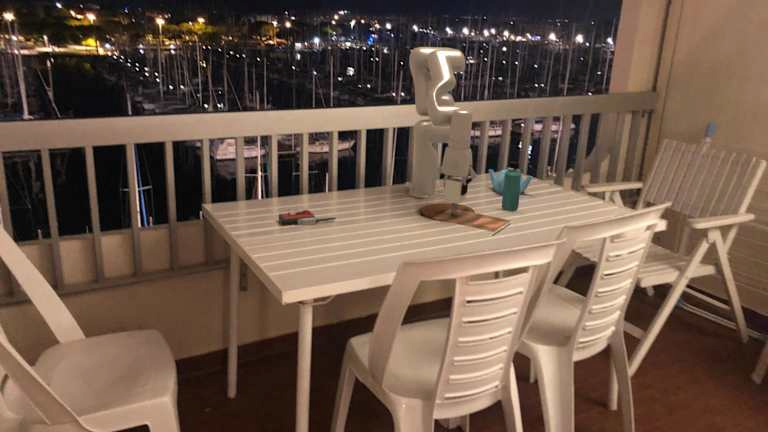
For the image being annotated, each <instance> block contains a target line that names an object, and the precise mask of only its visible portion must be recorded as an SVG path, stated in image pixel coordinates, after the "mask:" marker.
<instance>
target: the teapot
mask: <svg viewBox="0 0 768 432" xmlns="http://www.w3.org/2000/svg"><path fill="white" fill-rule="evenodd" d="M508 170H515V169H513V168H509V167H508V166H507V169H502V170H501V171H499V173H497V175H496V174H495V171H494V169H488V173H489V177H490V181H491V184H492V188H493V190H494V191H495V193H497V194H500V195H503V187H504V178H505V172H506V171H508ZM516 170H517V171H519V172H520V173H521V169H519V168H518V169H516ZM532 179H533V176H532V175H528V176H527V178H526V179H524V177H523V175H522V174H521V181H520V193H519V195H521V194H523V193H524V192H525V190H527V189H528V187H529V184H530V182H531V181H532Z"/></svg>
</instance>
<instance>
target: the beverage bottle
mask: <svg viewBox="0 0 768 432" xmlns="http://www.w3.org/2000/svg"><path fill="white" fill-rule="evenodd" d="M508 167H509V168H513V169H514V170H508V169H507V170H508V171H506V172H505V178H504V187H503V194H502V197H501V198H502V200H501V209H502V210H503V211H508V212H515V211H518V209H519V207H520V206H519V205H520V204H519V203H520V194H519V193H520V181H521V175H522V172H521V171H520V172H519V171H517V169H518V170H519V169H520V162H519V161H509V162H508V164H507V168H508Z"/></svg>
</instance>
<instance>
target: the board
mask: <svg viewBox="0 0 768 432" xmlns="http://www.w3.org/2000/svg"><path fill="white" fill-rule="evenodd" d="M432 219H435V220H437V221H443V222H447V223H452V224H455V225H460V226H466V227H471V228H474V229H475V228H476V229H479V230H484V231H487V232H495V231H496V232H495V233H493V234H492V235H491V236H492V237H493V236H495V235H497V234H498V233H500V232H501V231H503V230H505V228H507V227H509V226H510V225H511V223H510V222H511V220H510V219H506V218H501V217H496V216H493V215H492V216H491V215H486V214H481V213H477V212H472V211H467V210H463V209H459V204H455V203H451V206H450V208H448V209H447V210H446V211H443V212H441V213H439V214H437V215H435V216H433V217H432ZM503 226H504V227H503ZM500 228H501V229H500ZM499 229H500V230H499ZM497 230H498V231H497Z"/></svg>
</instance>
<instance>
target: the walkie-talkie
mask: <svg viewBox="0 0 768 432" xmlns="http://www.w3.org/2000/svg"><path fill="white" fill-rule="evenodd" d="M336 219H337V218H336V217H334V216H333V217H325V218H324V217H323V218H316V216H315V215H314V212H311V211H310V210H308V209H307V208H299V209H295V210H294V211H292V212H291V211H290V210H289V211H287V212H285V213H280V214H279V213H278V221H279V224H280V225H283V226H285V225H286V226H294V225H300V226H310V225H311V226H312V225H316V224H318V223H319V222H328V221H333V220H336ZM293 224H294V225H293Z"/></svg>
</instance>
